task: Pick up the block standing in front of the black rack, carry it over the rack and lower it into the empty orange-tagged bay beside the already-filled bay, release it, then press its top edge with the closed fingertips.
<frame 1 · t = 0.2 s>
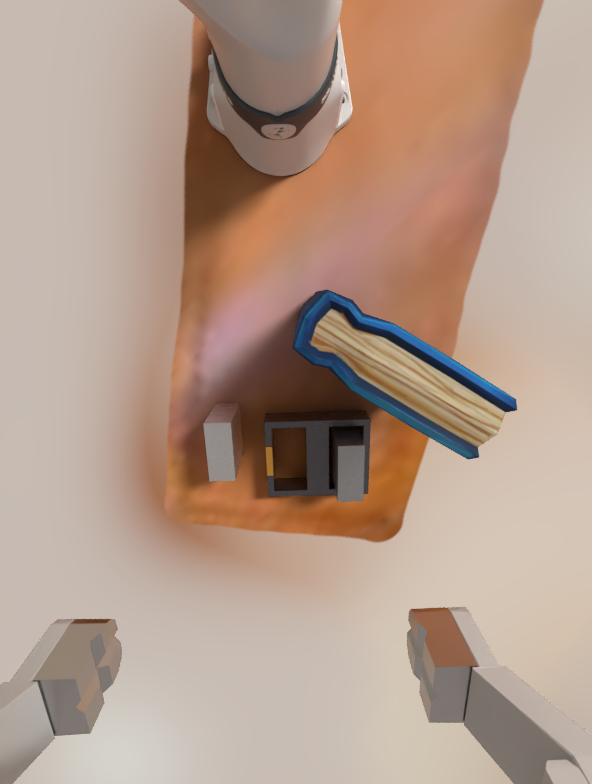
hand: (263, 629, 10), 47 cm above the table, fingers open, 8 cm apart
rack: (316, 448, 60), on the table
book: (358, 340, 55), on the table
block: (230, 428, 59), on the table
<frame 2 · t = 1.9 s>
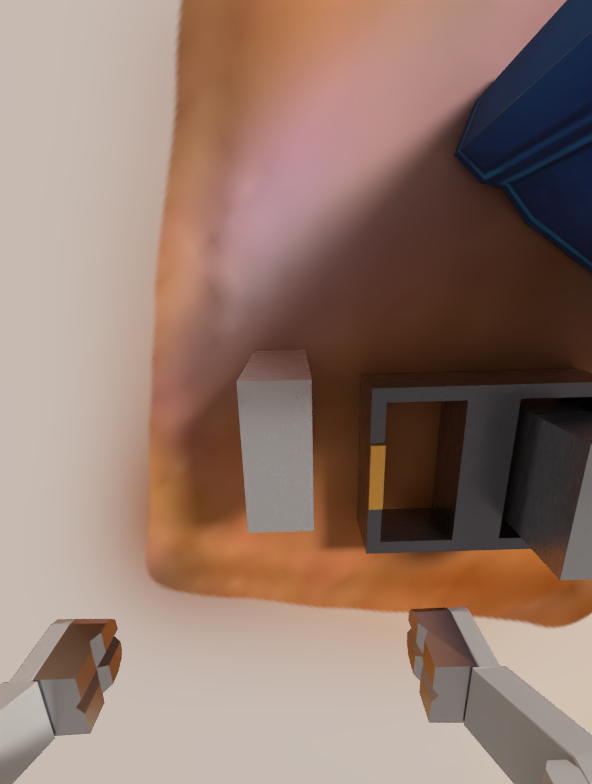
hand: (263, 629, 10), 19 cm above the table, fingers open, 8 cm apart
rack: (458, 448, 29), on the table
book: (584, 201, 24), on the table
block: (282, 407, 28), on the table
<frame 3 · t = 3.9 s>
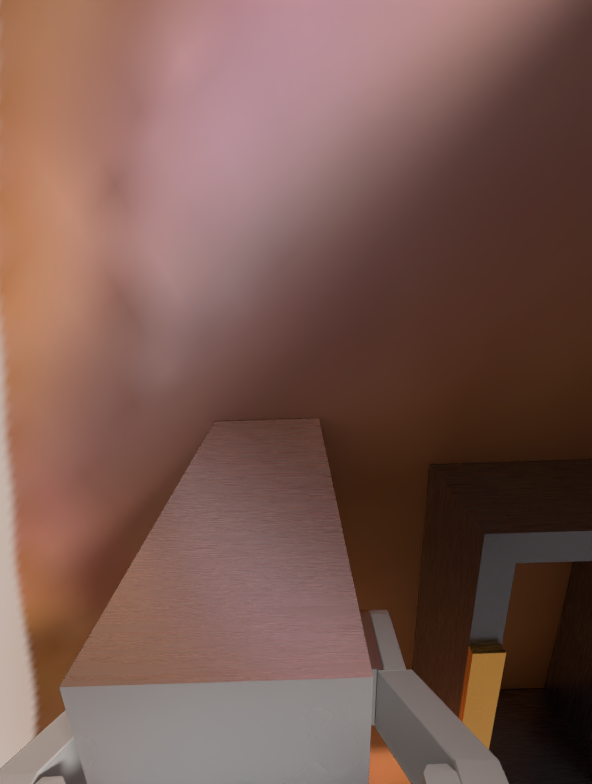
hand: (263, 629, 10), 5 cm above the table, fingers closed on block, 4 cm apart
block: (272, 525, 14), on the table, touching gripper
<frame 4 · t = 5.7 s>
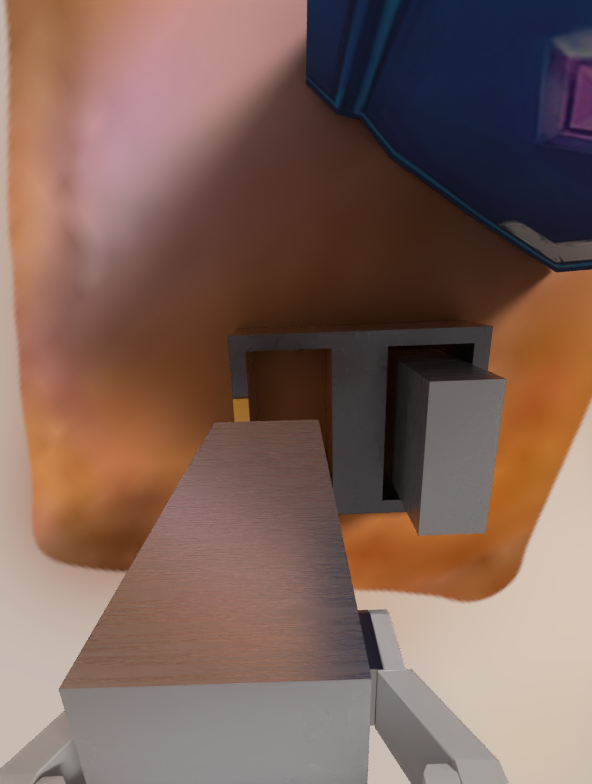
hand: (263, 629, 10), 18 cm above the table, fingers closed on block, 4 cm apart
rack: (349, 409, 27), on the table
book: (456, 137, 23), on the table
block: (272, 526, 14), point 14 cm above the table, touching gripper
when the fingers open (5 cm above the table, at t = 7.9 s): block stays where it is, resting in rack.
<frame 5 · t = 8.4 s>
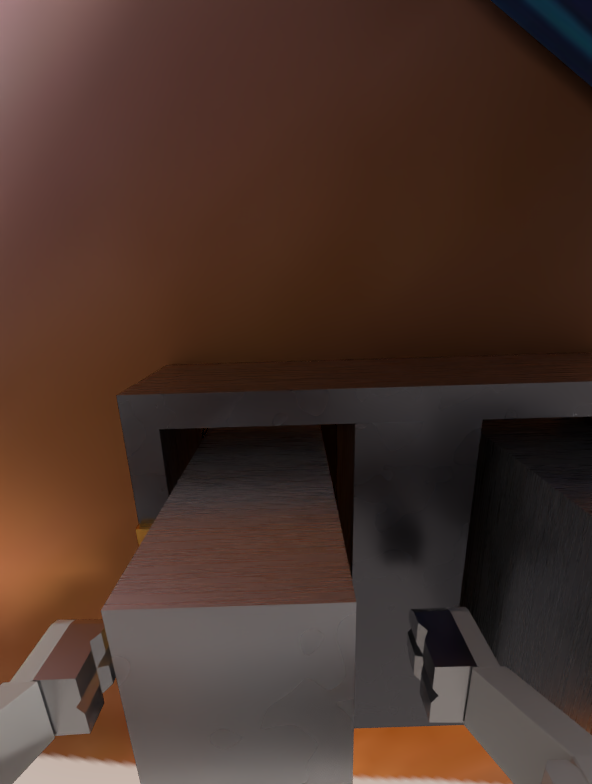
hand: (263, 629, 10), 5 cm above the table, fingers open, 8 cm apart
rack: (377, 509, 15), on the table
block: (273, 509, 15), resting in rack
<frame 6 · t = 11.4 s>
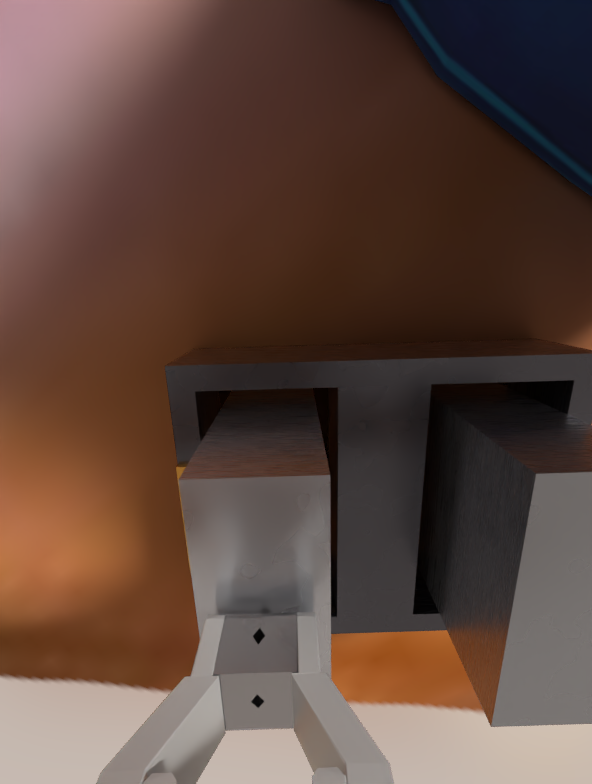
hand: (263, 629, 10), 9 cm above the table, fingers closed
rack: (361, 466, 19), on the table
book: (542, 46, 14), on the table
block: (277, 467, 19), resting in rack
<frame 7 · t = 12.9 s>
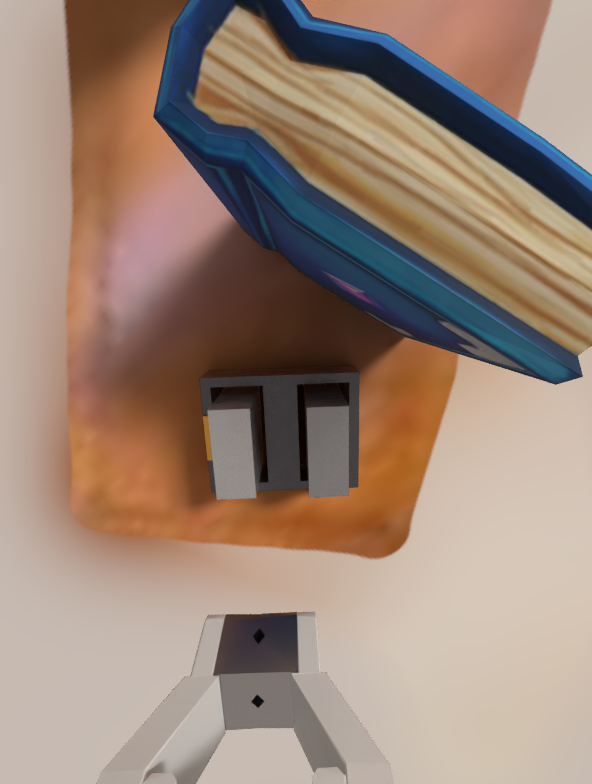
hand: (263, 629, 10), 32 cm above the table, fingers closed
rack: (283, 422, 42), on the table
book: (339, 257, 37), on the table
block: (245, 423, 42), resting in rack
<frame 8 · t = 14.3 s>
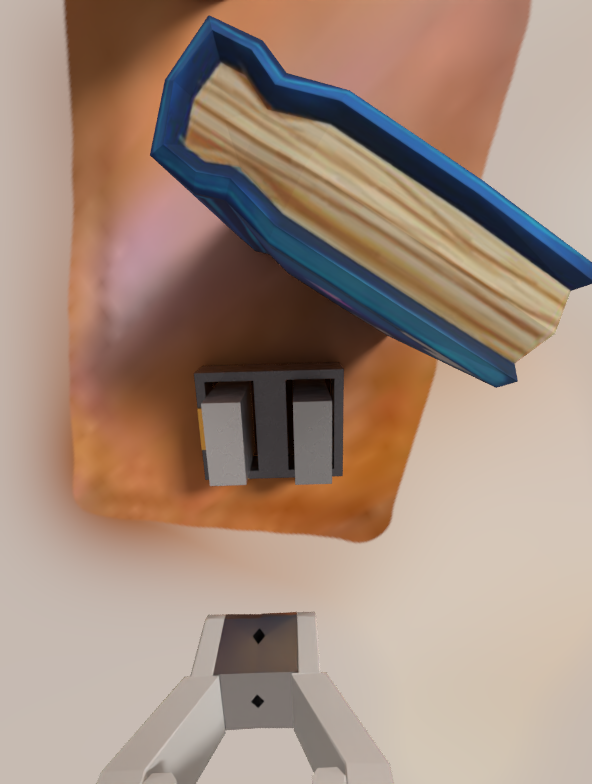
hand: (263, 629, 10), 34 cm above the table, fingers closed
rack: (273, 415, 44), on the table
book: (327, 260, 39), on the table
block: (237, 415, 44), resting in rack
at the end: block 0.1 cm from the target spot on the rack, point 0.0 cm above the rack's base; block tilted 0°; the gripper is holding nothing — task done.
